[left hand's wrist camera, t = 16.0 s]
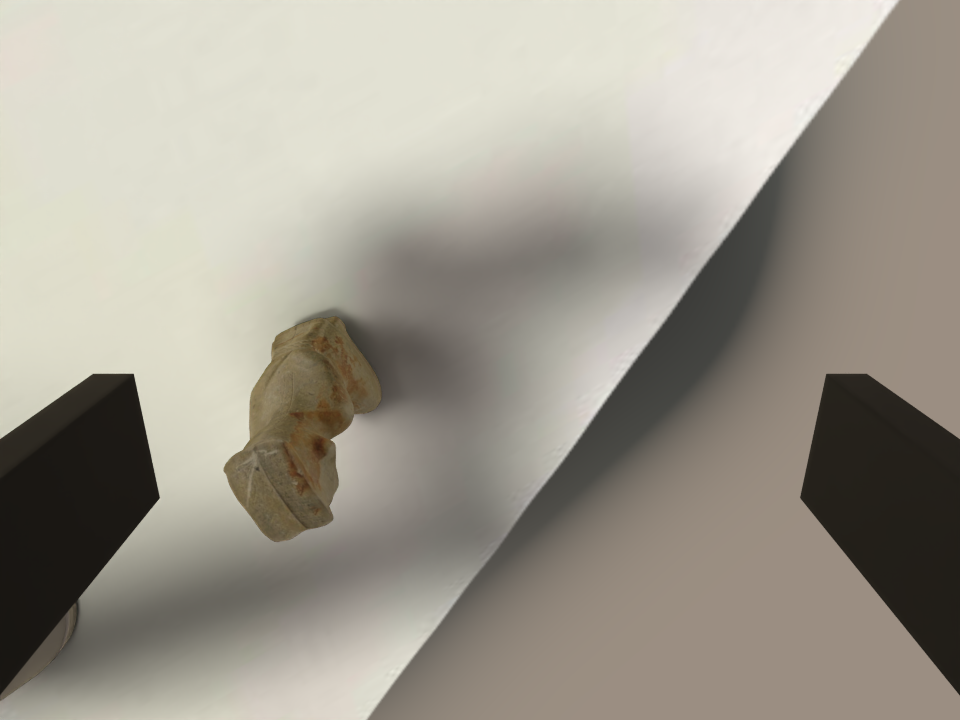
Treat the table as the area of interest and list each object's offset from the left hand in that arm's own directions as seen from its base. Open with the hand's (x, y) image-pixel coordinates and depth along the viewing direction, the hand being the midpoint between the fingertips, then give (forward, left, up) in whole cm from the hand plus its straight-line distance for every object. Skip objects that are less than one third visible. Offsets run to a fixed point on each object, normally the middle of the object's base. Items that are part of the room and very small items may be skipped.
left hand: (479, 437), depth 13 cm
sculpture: (-13, +3, -28) cm, 31 cm away
